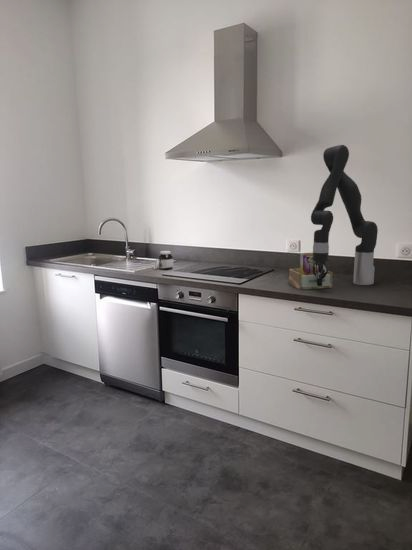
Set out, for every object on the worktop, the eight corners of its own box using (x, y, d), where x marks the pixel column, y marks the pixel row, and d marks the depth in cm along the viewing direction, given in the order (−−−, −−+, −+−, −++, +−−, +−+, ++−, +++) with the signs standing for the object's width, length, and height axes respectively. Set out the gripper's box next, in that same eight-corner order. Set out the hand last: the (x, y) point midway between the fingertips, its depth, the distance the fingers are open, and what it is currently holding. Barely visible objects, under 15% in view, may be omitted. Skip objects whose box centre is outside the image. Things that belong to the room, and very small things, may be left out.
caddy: (319, 281, 225) (320, 267, 223) (331, 287, 211) (332, 272, 210) (288, 283, 222) (289, 269, 220) (298, 289, 209) (299, 274, 207)
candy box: (315, 280, 220) (316, 252, 217) (318, 281, 216) (319, 253, 213) (299, 281, 219) (300, 252, 216) (302, 282, 215) (303, 253, 212)
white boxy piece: (318, 280, 223) (319, 269, 222) (331, 286, 209) (331, 275, 208) (292, 282, 221) (292, 271, 219) (303, 288, 207) (303, 276, 205)
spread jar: (175, 269, 268) (174, 251, 266) (161, 271, 261) (160, 253, 258) (164, 267, 277) (163, 249, 274) (150, 269, 269) (149, 251, 267)
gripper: (334, 252, 196) (332, 288, 200) (321, 249, 209) (320, 282, 212) (319, 253, 195) (318, 289, 198) (308, 249, 208) (306, 283, 211)
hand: (319, 285), depth 205 cm, fingers closed
